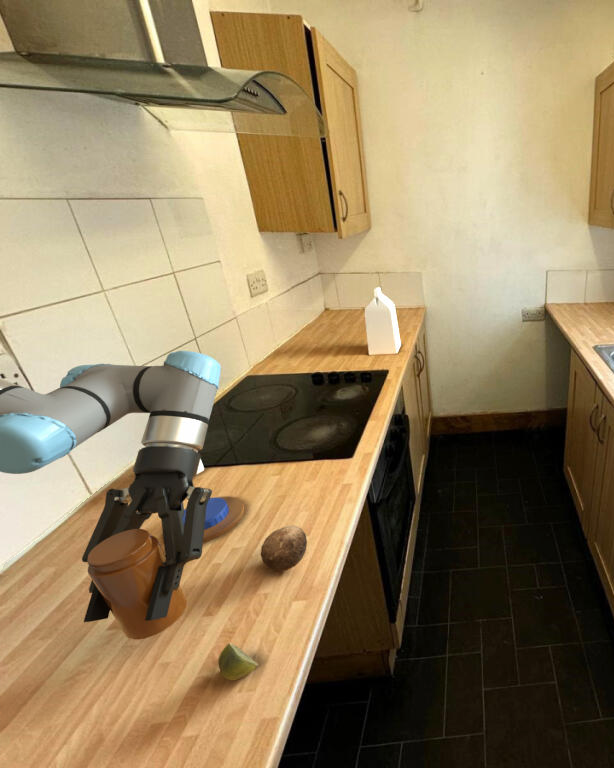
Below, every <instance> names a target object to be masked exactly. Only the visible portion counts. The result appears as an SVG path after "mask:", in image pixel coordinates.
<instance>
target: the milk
mask: <svg viewBox="0 0 614 768" xmlns="http://www.w3.org/2000/svg"><path fill="white" fill-rule="evenodd" d="M373 295H374V298H373V299H372V300H371V301H370V302H369V304H368V305H367V306H365V308H364V321H365V331H366V341H367V348H368V350H367V351H368V355H370V356H371V355H376V356H377V355H393V354H394V355H396V354H398V352H399V350H400V348H401V346H402V342H401V337H400V329H399V323H398V318H397V310H396V305H395V303H394V302H393V301H392V300H391V299H390V298H389V297H387V296H386V295H385V294H383V292H382V290H381V286H376V287H375V288H374V289H373Z"/></svg>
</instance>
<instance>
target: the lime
mask: <svg viewBox="0 0 614 768" xmlns="http://www.w3.org/2000/svg"><path fill="white" fill-rule="evenodd" d="M217 664H218V669H219V674H220V675H221V676H222V677H223V678H225V679H227V680H229V681H237V680H239V679H242V678H244V677H247V676H248V675H250V674H251V673H253V672H254V671H255V670H256V669H257V667H258V666H259V663H258V662H257V661H255V660H254V658H252V657H251V656H250V655H248V654H247V653H245V652H244V651H243V650H242V649H241V648H240V647H238V646H236V645H235V644H233V643H231V642H229V643H227V644H226V646H224V647H223V649H222V650H221V652H220V654H219V656H218V661H217Z"/></svg>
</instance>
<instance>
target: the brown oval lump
mask: <svg viewBox="0 0 614 768" xmlns="http://www.w3.org/2000/svg"><path fill="white" fill-rule="evenodd" d="M307 546H308V539H307V535H306V533H305V531H304V530H303V529H302V527H300V526H297V525H294V524H293V525H291V524H290V525H287V526H283V527H280V528H278V529H275V530H274V531H273V532H272V533H270V534H269V535H268V536H267V537H265V539H264V541H263V543H262V545H261V547H260V558H261V560H262V563H263V564H264V565H265V567H267V568H268V569H270V570H273V571H277V572H286V571H289V570H291V569H292V568H295V567H296V566H297V565H298V564H299V563H300V562H301V561H302V560H303V558H304V556H305V553H306V551H307Z"/></svg>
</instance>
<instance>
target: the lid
mask: <svg viewBox="0 0 614 768" xmlns="http://www.w3.org/2000/svg"><path fill="white" fill-rule="evenodd" d="M228 512H229V508H228V505H227V502H226V501H225V500H224V499H222V498H216V497H210V499H209V501H208V503H207V507H206V517H205V527H204V530H205V529H208V528H210V527H212V526H214V525H216V524H218V523H219V522H221V521H222V520H223V519H224V518H225V517H226V516H227V514H228ZM185 515H186V508H184V516H183V524H185Z"/></svg>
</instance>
